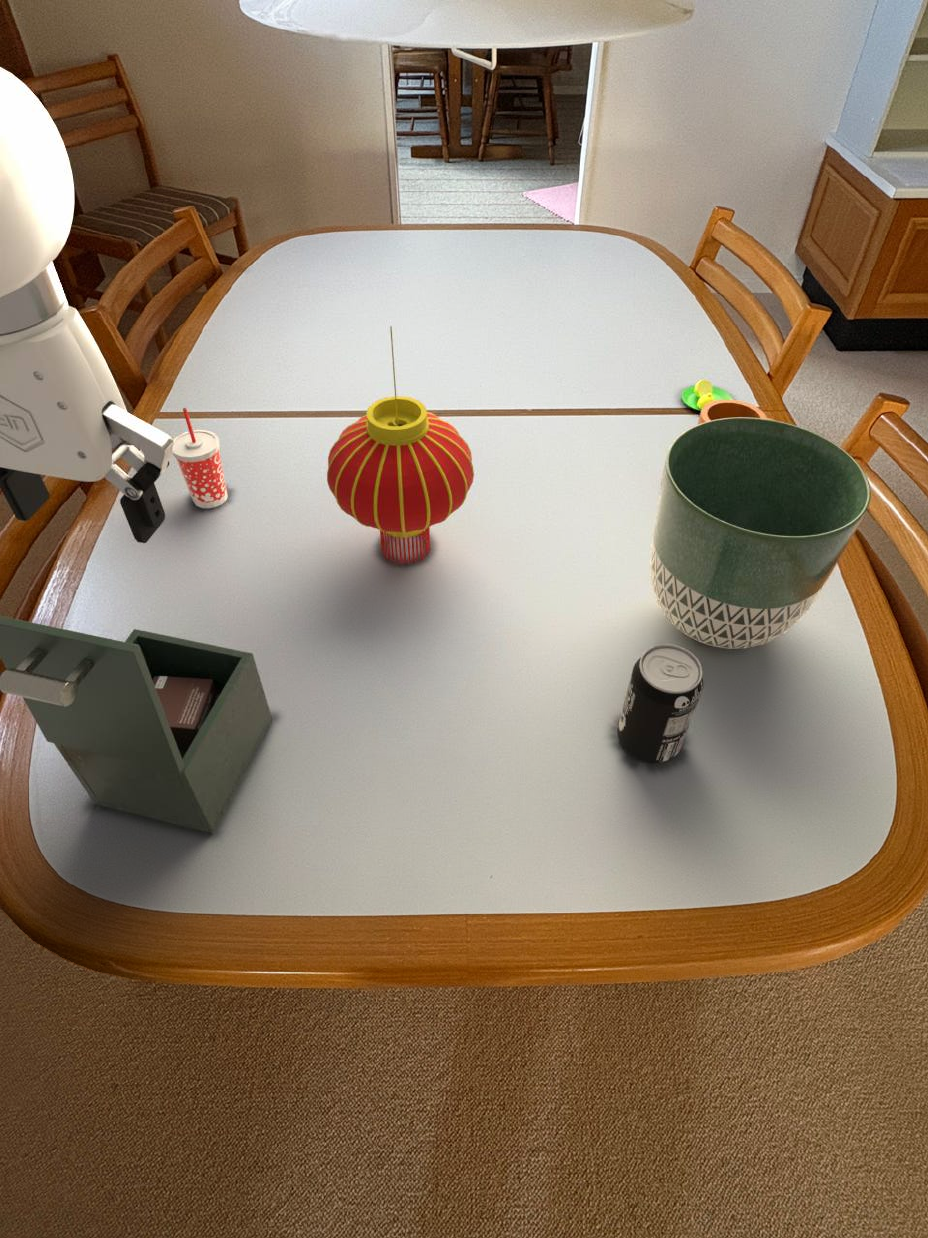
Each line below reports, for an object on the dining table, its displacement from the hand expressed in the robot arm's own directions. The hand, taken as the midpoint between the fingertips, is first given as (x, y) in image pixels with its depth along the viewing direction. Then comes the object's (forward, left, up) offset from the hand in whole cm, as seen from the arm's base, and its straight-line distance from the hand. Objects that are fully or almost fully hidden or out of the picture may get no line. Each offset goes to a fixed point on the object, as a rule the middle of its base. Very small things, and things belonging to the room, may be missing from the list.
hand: (92, 519), depth 58 cm
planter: (+31, -51, -31) cm, 67 cm away
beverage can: (+12, -45, -31) cm, 56 cm away
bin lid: (-7, 0, -12) cm, 14 cm away
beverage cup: (+37, +17, -31) cm, 51 cm away
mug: (+61, -52, -31) cm, 86 cm away
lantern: (+34, -12, -31) cm, 48 cm away
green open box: (-2, 0, -30) cm, 30 cm away
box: (0, 0, -30) cm, 30 cm away
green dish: (+79, -48, -31) cm, 98 cm away
